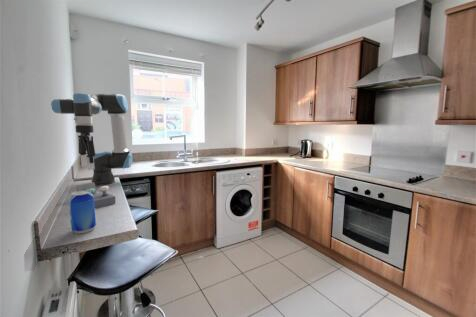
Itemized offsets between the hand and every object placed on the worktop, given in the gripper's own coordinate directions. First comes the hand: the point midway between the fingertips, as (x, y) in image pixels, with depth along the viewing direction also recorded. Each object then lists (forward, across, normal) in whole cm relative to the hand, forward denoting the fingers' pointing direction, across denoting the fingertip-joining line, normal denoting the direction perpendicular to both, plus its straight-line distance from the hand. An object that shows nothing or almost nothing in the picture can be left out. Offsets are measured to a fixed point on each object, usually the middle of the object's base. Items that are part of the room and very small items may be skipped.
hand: (88, 168), depth 121 cm
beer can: (+21, +30, -12) cm, 39 cm away
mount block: (+21, 0, +4) cm, 21 cm away
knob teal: (+17, 0, 0) cm, 17 cm away
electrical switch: (+21, -15, +2) cm, 26 cm away
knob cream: (+17, 0, +7) cm, 18 cm away
